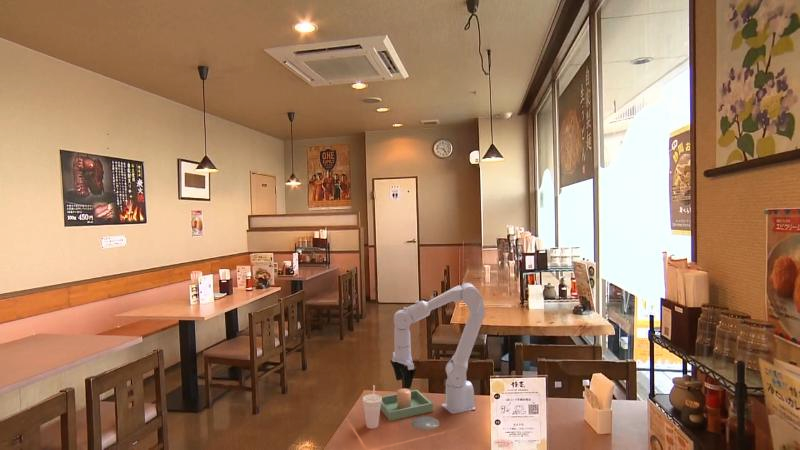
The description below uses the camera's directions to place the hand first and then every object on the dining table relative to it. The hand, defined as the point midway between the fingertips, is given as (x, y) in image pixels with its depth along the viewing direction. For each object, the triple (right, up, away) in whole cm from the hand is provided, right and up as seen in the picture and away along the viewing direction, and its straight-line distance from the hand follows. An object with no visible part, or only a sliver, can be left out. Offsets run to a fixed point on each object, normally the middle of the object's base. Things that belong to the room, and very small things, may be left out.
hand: (403, 383), depth 152 cm
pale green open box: (0, -9, 0) cm, 9 cm away
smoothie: (-10, -10, -12) cm, 19 cm away
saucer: (+7, -10, -11) cm, 16 cm away
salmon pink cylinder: (0, -9, 0) cm, 9 cm away
